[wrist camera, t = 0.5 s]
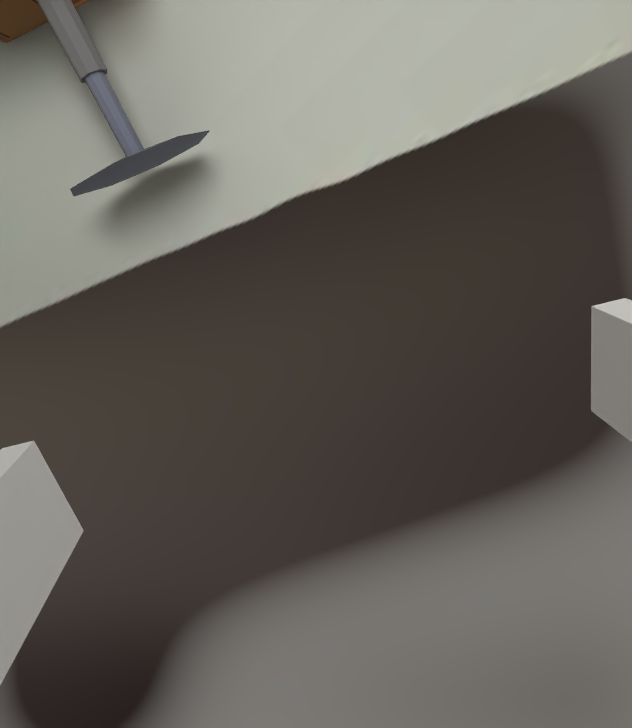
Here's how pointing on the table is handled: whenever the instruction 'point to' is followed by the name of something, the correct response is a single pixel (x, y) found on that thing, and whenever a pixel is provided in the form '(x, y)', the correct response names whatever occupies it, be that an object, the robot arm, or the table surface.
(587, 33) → the table surface
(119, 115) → the wooden box with plunger
